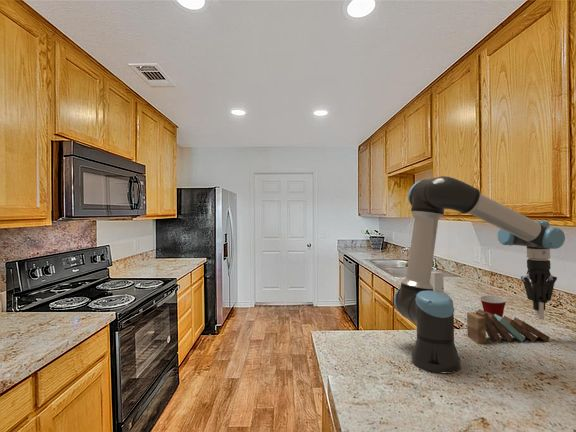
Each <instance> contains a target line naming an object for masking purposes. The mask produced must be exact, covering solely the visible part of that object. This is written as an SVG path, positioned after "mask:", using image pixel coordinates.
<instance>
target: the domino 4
mask: <svg viewBox="0 0 576 432" xmlns="http://www.w3.org/2000/svg"><path fill="white" fill-rule="evenodd" d="M503 319H505V320H506V321H507V322H508V323H509V324H510V325H511V326H512V327H513V328H515V329H516V330H517V331H518V332H519V333H520V334H521V335H522V336H524V337H525V339H528V340H530V341H532V342H534V343H535V342H536V340H537V339H538V337H537V336H535V335H534V334H532V333H531V332H529V331H527V330H526V329H525V328H523V327H522V326H520V325H519V324H518V323H516V322H515V321H514V319H512V318H509V317H508V316H506V315H503Z"/></svg>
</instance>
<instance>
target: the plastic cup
mask: <svg viewBox="0 0 576 432" xmlns="http://www.w3.org/2000/svg"><path fill="white" fill-rule="evenodd" d="M479 301H480V302H481V305H482V311H484V312H489V313H491V314H493V315H494V314H496V315H498V316H500V317H502V318H503V317H504V311H505V306H506V303H507V302H508V299H507V298H506V297H503V296H500V295H494V294H493V295H492V294H486V295H481V296H479Z"/></svg>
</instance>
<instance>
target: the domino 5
mask: <svg viewBox="0 0 576 432" xmlns="http://www.w3.org/2000/svg"><path fill="white" fill-rule="evenodd" d="M513 320H514V321H515V322H516V323H518V324H519V325H520V326H522V327H523V328H525V329H526V330H527V331H529V332H530V333H532V334H533V335H534V336H536V337H537V338H539V339H541V340H543V341H545V342H548V341H549V339H550V338H551V337H550V336H549V335H547V334H545V333H544V332H542V331H540V330H538V328H536V327H534V326H532V325H530V324H529V323H527V322H525V321H523V320H522V319H520V318H517V317H514V319H513Z"/></svg>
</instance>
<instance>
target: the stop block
mask: <svg viewBox="0 0 576 432" xmlns="http://www.w3.org/2000/svg"><path fill="white" fill-rule="evenodd" d="M466 319H467V320H466V321H467V322H466V324H467V325H466V326H467V327H466V328H467V330H466V331H467V337H468V338H469V339H470V340H472V341H473V342H475V343H476V344H478V345H487V341H486V340H487V337H486V336H487V332H486V318H484V317H483V316H481V315H479V314H477V313H476V311H474V312H473V311H467V312H466Z"/></svg>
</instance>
